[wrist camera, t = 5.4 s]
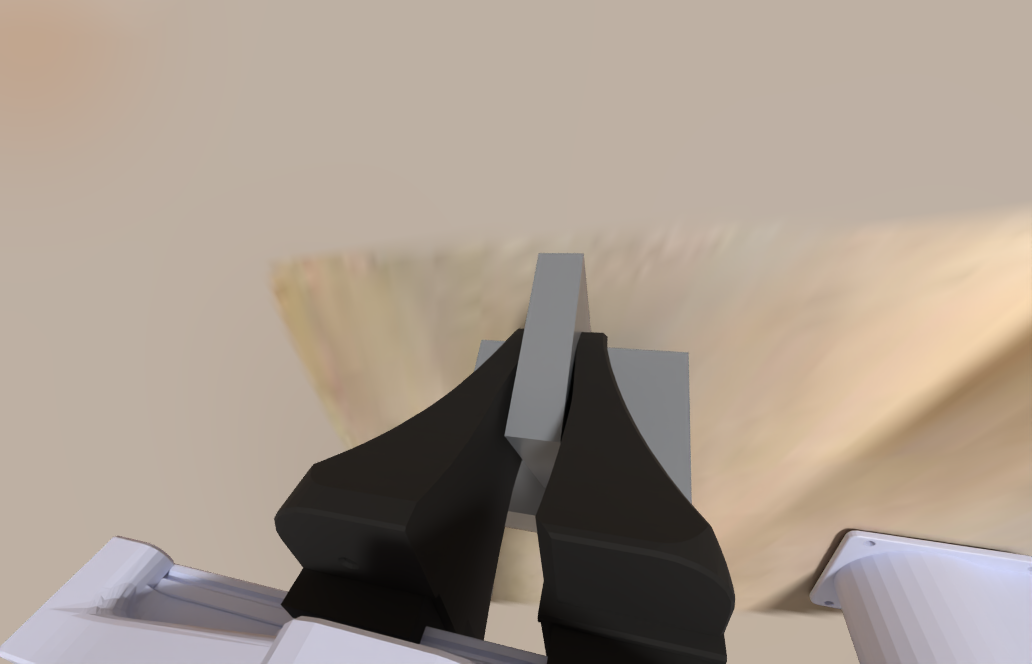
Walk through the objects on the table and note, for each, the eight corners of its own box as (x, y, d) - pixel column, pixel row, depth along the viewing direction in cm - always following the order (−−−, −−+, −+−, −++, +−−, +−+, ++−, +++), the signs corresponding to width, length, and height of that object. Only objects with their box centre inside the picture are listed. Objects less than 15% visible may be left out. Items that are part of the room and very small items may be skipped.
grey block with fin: (665, 421, 22) (665, 555, 19) (518, 406, 24) (497, 525, 21) (724, 241, 10) (745, 515, 7) (427, 241, 12) (352, 457, 10)
